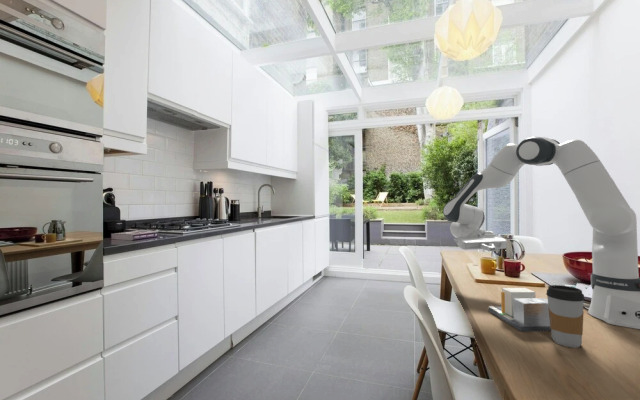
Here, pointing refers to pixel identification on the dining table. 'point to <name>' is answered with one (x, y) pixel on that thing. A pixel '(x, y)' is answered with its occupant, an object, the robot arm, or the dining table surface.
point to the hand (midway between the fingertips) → (492, 249)
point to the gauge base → (526, 314)
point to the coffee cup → (566, 314)
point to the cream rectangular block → (512, 293)
